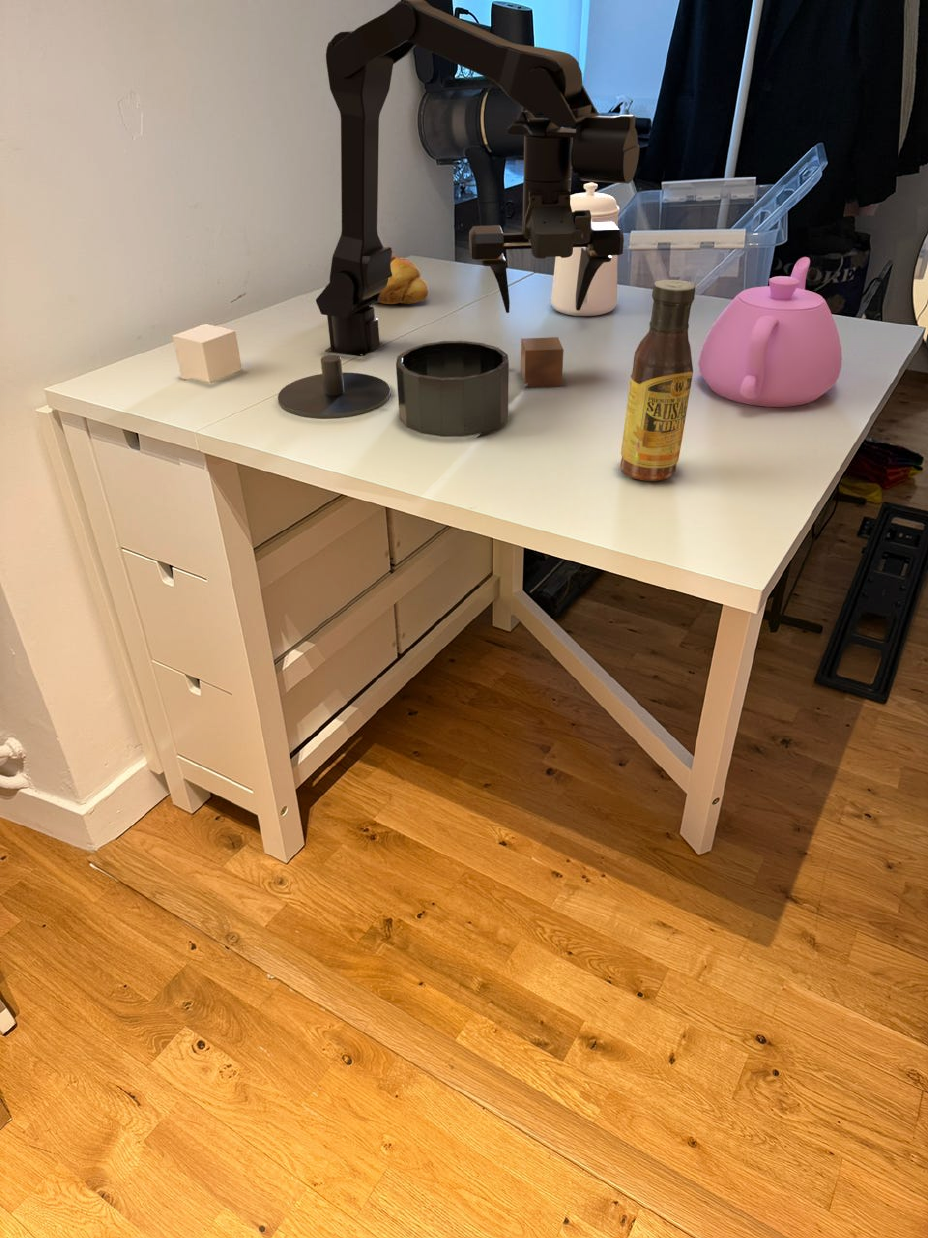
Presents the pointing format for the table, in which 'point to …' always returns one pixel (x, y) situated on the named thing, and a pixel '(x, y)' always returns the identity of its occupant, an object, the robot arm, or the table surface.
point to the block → (541, 362)
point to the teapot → (773, 345)
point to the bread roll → (403, 283)
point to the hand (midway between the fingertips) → (542, 310)
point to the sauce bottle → (660, 386)
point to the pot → (453, 388)
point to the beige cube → (207, 353)
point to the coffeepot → (566, 269)
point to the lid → (334, 392)
